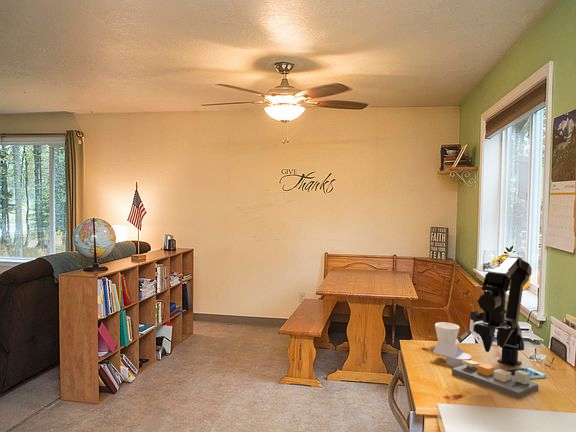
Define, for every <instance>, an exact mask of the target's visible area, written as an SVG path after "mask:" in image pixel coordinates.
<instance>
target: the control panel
mask: <svg viewBox="0 0 576 432" xmlns="http://www.w3.org/2000/svg"><path fill="white" fill-rule="evenodd" d="M495 370H497V369H495V368H494V371H495ZM451 375H452V376H455V377H456V376H457V377H459V378H462V379H464V380H467V381H469V382H471V383H474V384H476V385H477V384H478V385H480V386H483V387H485V388H488V389H490V390H494V391H497V392H499V393H502V394H504V395H506V396H509V397H512V398H515V399H518V400H519V399H521V398H523V397H526V396H527V395H531V394H533V393H534V392H537V391H539V383H537V382H534V381H530V382H529V383H527V384H522V383H519V382H516V381H514V380H515V375H512V374H511V380H509V381H506V382H503V381H500V380H497V379H494V378H493V375H494V374H492V375H490V376H486V375H483V374H480V373H477V367H471V366H468V365H462V366H459V367H452V368H451Z"/></svg>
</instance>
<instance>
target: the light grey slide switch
mask: <svg viewBox="0 0 576 432" xmlns="http://www.w3.org/2000/svg"><path fill="white" fill-rule="evenodd" d="M514 376H515V380H514V381H516V382H519V383H522V384H527V383H529V382H530V378H531V372H528V371H524V370H521V369H518V370H515V371H514Z"/></svg>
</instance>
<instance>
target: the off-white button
mask: <svg viewBox="0 0 576 432" xmlns="http://www.w3.org/2000/svg"><path fill="white" fill-rule="evenodd" d="M511 375H512V372H511V371H508V370H505V369H502V368H498V369H496V370H495V371H494V375H493V378H494V379H497V380H500V381H503V382H506V381H509V380H511Z"/></svg>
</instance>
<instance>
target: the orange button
mask: <svg viewBox="0 0 576 432" xmlns="http://www.w3.org/2000/svg"><path fill="white" fill-rule="evenodd" d="M494 369H495V366H493V365H491V364H490V365H489V364H486V363H484V362H483V363H481V364H480V365H478V367H477V373H480V374H483V375H486V376H490V375H492V374H494Z"/></svg>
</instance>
